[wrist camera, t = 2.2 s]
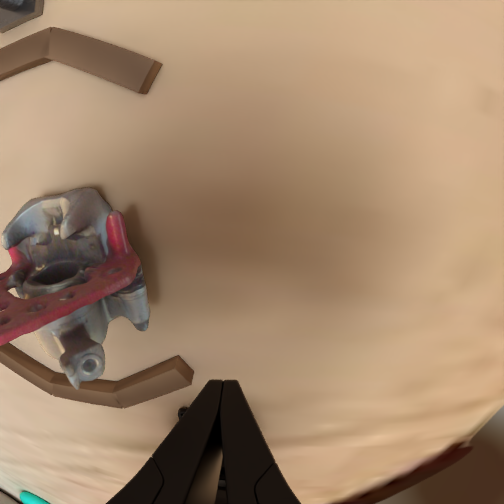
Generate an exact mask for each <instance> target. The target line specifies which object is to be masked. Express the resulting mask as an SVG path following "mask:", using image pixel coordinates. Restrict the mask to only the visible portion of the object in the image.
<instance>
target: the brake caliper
mask: <svg viewBox="0 0 504 504" xmlns="http://www.w3.org/2000/svg"><path fill="white" fill-rule="evenodd" d="M1 242H2V246H3V247H4V248H5V249H6V250H8V252H9V254H10V256H11V259H12V265H11V267H10V268H9V269H8V270H7V271H6V272H4V273H1V274H0V311H1V312H0V346H1V345H4V344H6V343H8V342H9V341H12V340H14V339H16V338H17V337H19V336H21V335H23V334H27V333H30V332H34V334H35V335H36V337H37V339H38V341H39V343H40V345H41V347H42V348H43V350H44V351H45V352H46V353H47V354H48V355H49V356H50V357H52V358H54V359H57V360H59V363H60V366H61V368H62V370H63V371H64V373H65V374H66V376H67V378H68V380H69V381H70V383H71V384H72V385H73V386H74V388H76V389H77V390H78V389H79V388H80V383H81V382H82V381H92V380H94V379H96V378H98V377H100V376H101V375H102V374H103V372H104V369H105V354H104V350H103V347H102V345H101V344H102V343H103V341H104V339H105V337H106V334H107V329H108V324H109V322H110V321H112V320H113V319H115V318H116V317H119V316H124V317H126V318H128V319H129V320H130V321H131V322H132V323H133V324H134V326H135V327H136V328H137V329H138V330H139V331H145V330H146V329H147V328H148V323H149V317H150V308H149V304H148V297H147V288H146V284H145V280H144V276H143V272H142V266H141V262H140V259H139V257H138V255H137V254H136V252H135V251H134V250H133V248H132V247H131V245H130V244H129V242H128V238H127V233H126V227H125V222H124V219H123V216H122V214H121V212H119V211H113V212H112V210H111V207H110V206H109V204H108V203H106V202H105V201H104V200H103V199H102V197H101V196H100V195H99V193H98V192H97V190H95V189H93V188H88V187H87V188H81V189H75V190H71V191H69V192H66V193H63V194H60V195H55V196H46V197H39V198H34V199H31V200H29V201H28V202H27V203H26V204H24V205H23V206H22V208H21V209H20V210H19V211H18V213H17V214H16V216H15V217H14V218H13V219H12V221H11V222H10V223H9V224H8V225H7V227H6V228H5V230H4V231H3V233H2V236H1ZM11 288H15V289H16V291H17V293H18V295H19V297H20V298H18V297H15V296H13V295H12V294H11V293H10V292H7V291H8V290H9V289H11ZM2 310H3V311H2Z"/></svg>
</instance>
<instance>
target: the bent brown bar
mask: <svg viewBox="0 0 504 504" xmlns="http://www.w3.org/2000/svg"><path fill="white" fill-rule="evenodd" d="M53 60H54V61H57V62H60V63H63V64H66V65H68V66H71V67H74V68H77V69H79V70H82V71H85V72H87V73H90V74H93V75H95V76H98V77H101V78H103V79H106V80H108V81H111V82H113V83H116V84H118V85H121V86H123V87H125V88H128V89H130V90H133V91H135V92H137V93H142V94H147V92H148V90H149V88H150V86H151V84H152V82H153V80H154V78H155V77H156V75H157V73H158V71H159V69H160V67H161V65H162V64H161V63H159V62H157V61H155V60H153V59H150V58H147V57H145V56H142V55H140V54H137V53H134V52H132V51H129V50H126V49H123V48H120V47H118V46H115V45H112V44H109V43H106V42H103V41H100V40H97V39H94V38H90V37H87V36H84V35H81V34H77V33H74V32H70V31H67V30H63V29H60V28H56V27H53V28H52V27H49V28H47V29H44V30H42V31H39V32H37V33H34V34H32V35H30V36H27V37H25V38H23V39H20V40H18V41H16V42H14V43H12V44H10V45H8V46H6V47H4V48H2V49H0V81H1V80H3V79H6V78H8V77H10V76H13V75H15V74H18V73H20V72H23V71H25V70H28V69H30V68H33V67H36V66H38V65H41V64H44V63H47V62H50V61H53ZM0 362H1V363H2V364H3V365H5V366H6V367H8V368H9V369H11V370H12V371H14V372H15V373H17V374H18V375H20V376H21V377H23V378H24V379H26V380H27V381H29V382H31V383H32V384H34V385H35V386H37V387H39V388H40V389H42V390H44V391H45V392H47V393H49V394H50V395H52V394H53V396H55V397H60V398H65V399H70V400H75V401H80V402H85V403H91V404H96V405H103V406H109V407H116V408H127V407H130V406H133V405H136V404H139V403H142V402H145V401H148V400H151V399H154V398H157V397H159V396H162V395H165V394H168V393H171V392H173V391H176V390H179V389H181V388H184V387H187V386H189V385H191V384H192V379H193V374H194V371H193V370H192V369H191V368H190V367H189V366H188V365H187V364H186V363H185V362H184V361H183V360H182V359H181V358H180V357H179V355H178V356H176V357H174V358H171V359H169V360H167V361H165V362H162V363H160V364H158V365H155V366H153V367H151V368H148V369H146V370H144V371H141V372H139V373H136V374H134V375H132V376H129V377H127V378H124V379H122V380H120V381H117V382H116V381H107V380H100V379H94V380H92V381H82V382H81V383H80V388H79V389H78V390H77V389H76V388H74V386H73V385H72V384H71V383H70V381H69V380H68V378H67V376H66V374H61V373H56V372H54V371H52V370H50V369H49V368H47V367H45V366H44V365H42V364H40V363H39V362H37V361H36V360H34V359H32V358H31V357H29V356H28V355H26V354H25V353H23V352H22V351H20V350H19V349H17V348H16V347H14V346H13V345H11V344H10V343H6V344H4V345H1V346H0Z"/></svg>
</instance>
